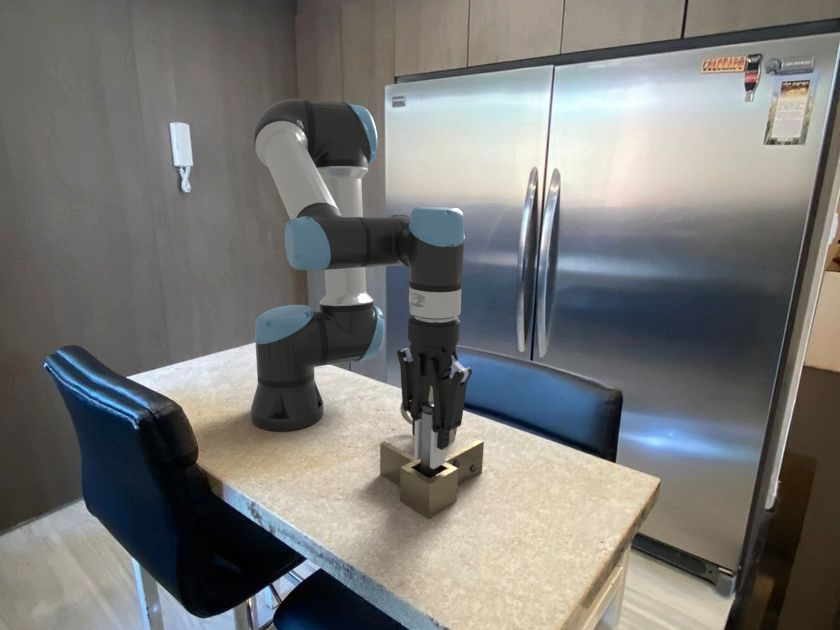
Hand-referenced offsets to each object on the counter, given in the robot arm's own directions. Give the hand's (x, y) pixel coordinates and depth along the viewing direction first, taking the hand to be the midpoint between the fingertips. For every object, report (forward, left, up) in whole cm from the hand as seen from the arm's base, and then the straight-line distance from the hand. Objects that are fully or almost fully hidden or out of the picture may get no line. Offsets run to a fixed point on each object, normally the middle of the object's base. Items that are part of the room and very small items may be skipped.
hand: (429, 460), depth 81 cm
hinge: (-4, +5, -7) cm, 10 cm away
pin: (0, 0, -6) cm, 6 cm away
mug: (-15, +16, -8) cm, 23 cm away
